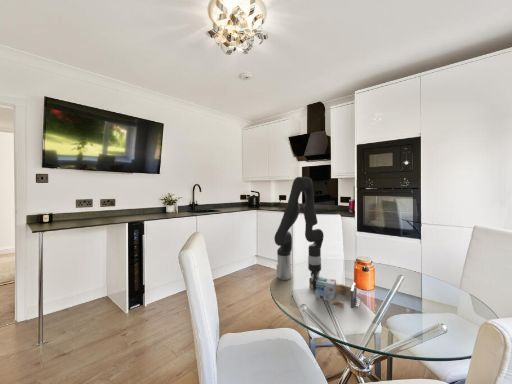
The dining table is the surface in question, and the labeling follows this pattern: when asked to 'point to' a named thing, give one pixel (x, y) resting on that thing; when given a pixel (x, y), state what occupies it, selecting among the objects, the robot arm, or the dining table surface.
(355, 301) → the bookend
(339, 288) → the shelf
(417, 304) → the dining table surface
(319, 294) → the light bulb box
